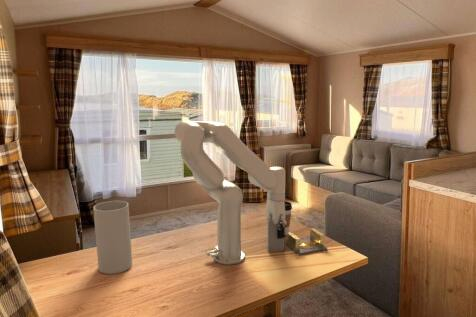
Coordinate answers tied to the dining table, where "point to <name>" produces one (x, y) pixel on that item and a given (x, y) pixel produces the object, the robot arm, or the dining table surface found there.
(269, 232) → the perfume bottle
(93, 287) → the dining table surface
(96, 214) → the cylinder vase
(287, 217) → the coffee cup
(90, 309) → the dining table surface
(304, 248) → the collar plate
